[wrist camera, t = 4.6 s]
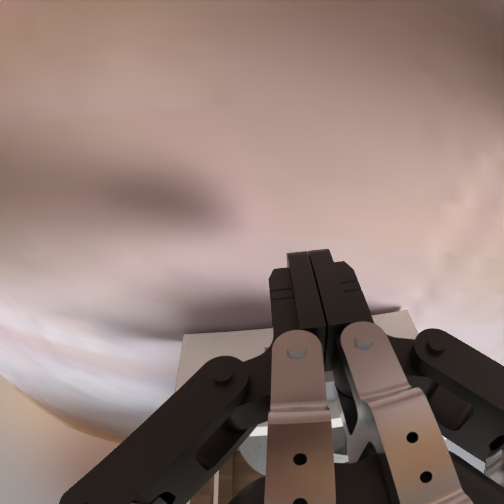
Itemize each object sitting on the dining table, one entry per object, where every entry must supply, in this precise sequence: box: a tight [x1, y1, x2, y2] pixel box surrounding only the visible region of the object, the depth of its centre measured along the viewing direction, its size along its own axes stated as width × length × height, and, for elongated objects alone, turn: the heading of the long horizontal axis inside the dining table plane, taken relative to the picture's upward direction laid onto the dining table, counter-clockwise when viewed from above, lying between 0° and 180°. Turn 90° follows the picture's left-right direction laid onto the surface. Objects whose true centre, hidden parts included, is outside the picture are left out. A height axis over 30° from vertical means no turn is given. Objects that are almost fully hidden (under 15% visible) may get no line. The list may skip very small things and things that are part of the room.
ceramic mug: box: [239, 426, 349, 476], centre depth 21 cm, size 11×8×8 cm
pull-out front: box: [175, 310, 418, 436], centre depth 16 cm, size 3×14×6 cm, turn 97°
